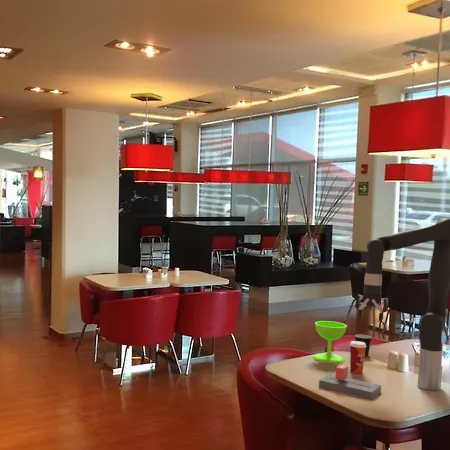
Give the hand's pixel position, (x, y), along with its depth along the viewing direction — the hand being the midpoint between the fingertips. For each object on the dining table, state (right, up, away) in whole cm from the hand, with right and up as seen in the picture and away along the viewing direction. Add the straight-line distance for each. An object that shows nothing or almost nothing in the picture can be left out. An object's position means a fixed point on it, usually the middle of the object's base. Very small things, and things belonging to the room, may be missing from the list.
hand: (370, 319), depth 249 cm
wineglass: (-12, -27, +36) cm, 46 cm away
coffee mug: (+7, -27, +48) cm, 55 cm away
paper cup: (-3, -28, +16) cm, 32 cm away
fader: (-15, -24, -9) cm, 30 cm away
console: (-12, -28, -11) cm, 32 cm away
